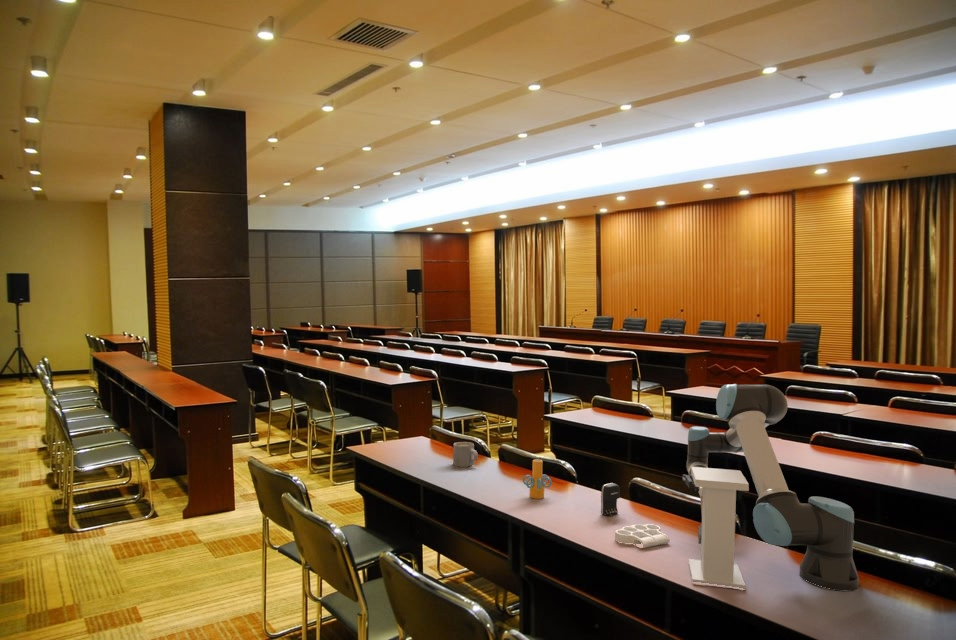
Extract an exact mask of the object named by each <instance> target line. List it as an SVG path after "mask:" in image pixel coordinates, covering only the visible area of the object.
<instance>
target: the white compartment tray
mask: <svg viewBox="0 0 956 640" xmlns="http://www.w3.org/2000/svg"><path fill="white" fill-rule="evenodd" d="M661 530H662V529H661V527H660V526H659V525H657V524H652V523H646V524H632V525H626V526H622V528H620V529H616V530H615V531H614V541H615V540H617V541H619V542H622V543H633V544H635V545H636V544H641V543H642V544H643V549H645V548H652V547H655V546H660V544H661V545H665V543H666V544H668V543H670V542H671V540H670V538H669V536H668V535H667V534H665V533H663V532H662V531H661ZM635 545H634V546H635Z"/></svg>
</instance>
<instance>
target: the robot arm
mask: <svg viewBox="0 0 956 640" xmlns="http://www.w3.org/2000/svg"><path fill="white" fill-rule="evenodd" d="M715 406H716V407H715V409H716V414H717V416H718V418H719V419H720V420H723V421H725V420H726V421H727V424H728V426H729V429H727V431H725V432H710V429H709V428H707V427H706V426H695V425H694V426H691V427H689V429H688V433H687V434H688V435H687V459H686V462H685V463H686V464H685V467H686V471H687V472H688V474H685V473H684V474H682V482H683V483H685V484H686V486H687V487H688V489H690V490H692V489H694V492H695V493H698V494H699V497H700V496H702V491H703V488H702V487H695V484H694V480H693V477H692V474H691V467H702V468H709V467H708V465H709V464H708V463H709V460H708V459H709V453H734V454H735V453H736V454H737V453H743V455H744V458H745V460H746V463H747V466H748V469H749V471H750V475H751V477H752V481H753V483H754V486H755V489H756V492H757V495H758V498H757V499H756V502H755V506H754V508H753V511H752V517H753V519H752V521H753V524H754V525H753V526H754V529H755V531H756V532H757V534H758V536H759V537H760V539H761V540H763V541H764V542H765V543H767V544H768V545H771V546H781V547H788V546H789V547H792V546H806V551H805V553H804V555H803V558H802V561H801V563H800V564H799V576H800V577H801V578H802V579H803V580H804V579H805V580H804V581H806V580H807V581H809V582H811V583H814V584H816V585H819V586H822V587H821V588H823V587H826V588H825V589H827V588H830V589H829V590H832V589H835V590H834V591H840V590H849V591H854V590H857V589H858V588H857V587H859V584H860V577H859V573H858V572H857V567H856V565H855V562H854V559H853V553H854V552H853V551H854V525H855V512H854V509H853V508H852V507H851V506H850V505H848V504H846V503H845V502H842V501H839V500H836V499H833V498H829V497H828V498H827V497H824V496H809V497H808V500H807V502H808V503H802V502H800V500H799V498H798V496H797V493H796V492H795V491H792V490H789V487H788V484H787V482H786V479H785V477H784V475H783V472H782V469H781V466H780V464H779V461H778V459H777V456H776V453H775V451H774V448H773V445H772V442H771V440H770V438H769V435H768V432H767V430H766V428H767V427H768V426H770V425H775V424H777V423H778V422H780V421H781V420H782V419H783V418H784V417H785V415H786V414H787V411H788V408H789V407H788V400H787V398H786V396H785V395H784V393H783V392H782V391H781V390H780V389H779V388H777V387H775V386H773V385H770V384H737V383H733V384H730V383H729V384H724V385H722V386H721V387H720V389H719V390H718V393H717V396H716V403H715ZM807 581H806V582H807ZM809 582H808V583H809ZM811 583H810V584H811ZM814 584H813V585H814ZM816 585H815V586H816ZM819 586H818V587H819ZM853 589H854V590H853Z"/></svg>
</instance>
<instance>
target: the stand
mask: <svg viewBox="0 0 956 640" xmlns="http://www.w3.org/2000/svg"><path fill="white" fill-rule="evenodd" d="M691 474H692V477H693V480H694V484H695V487H703V504H702V512H701V526H702V537H701V544H700V547H701V548H700V559H692V558H688V562H689V564H688V568H689V567H690V569H689V573H690V572H691V574H690V577H691V576H692V579H691V582H692V581H693V582H701V583H709V584H717V585H725V586H732V587H739V588H743V589H745V590H746V583H745V581H744V578H743V575H742V573H741V569H740V568H739V565H738V564H737V563H735V540H736V539H735V537H736V508H737V507H736V505H737V504H736V501H737V491H741V492H742V491H744V492H749V490H750V488H749V486H750V485H749V484H750V483H749V482H748V481H747V479H746V477H745V476H744V474H743V473H742V471H741V470H737V469H725V468H712V467H708V468H702V467H691Z"/></svg>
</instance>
